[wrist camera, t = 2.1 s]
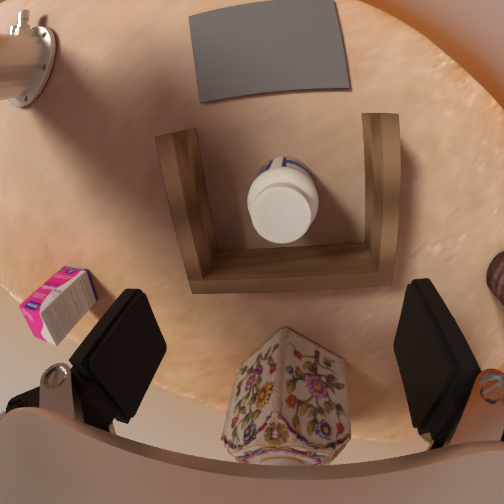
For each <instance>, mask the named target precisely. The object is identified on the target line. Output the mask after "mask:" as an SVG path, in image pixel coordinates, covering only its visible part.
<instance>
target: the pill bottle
mask: <svg viewBox="0 0 504 504" xmlns="http://www.w3.org/2000/svg"><path fill="white" fill-rule="evenodd" d="M318 204H319V201H318V193H317V190H316V187H315V184H314V181H313V178H312V176H311V173H310V171H309V170H308V168H307V167H306V166H305V165H304V164H303V163H302V162H301V161H299V160H297V159H295V158H292V157H288V156H282V157H277V158H274V159H272V160H270V161H268V162H267V163H266V164H265V165H264V166H263V167H262V168H261V170H260V171H259V173H258V175H257V176H256V178H255V180H254V181H253V183H252V185H251V187H250V190H249V193H248V198H247V205H248V211H249V214H250V216H251V219H252V223H253V226H254V228H255V229H256V231H257V232H258V233H259V234H260V235H261V236H262V237H263V238H265V239H266V240H268V241H271V242H274V243H282V244H283V243H290V242H293V241H295V240H297V239H299V238H300V237H302V236H303V235H304V234H305V232H306V231H307V230H308V228H309V226H310V224H311V223H312V222H313V220H314V219H315V217H316V214H317V211H318Z"/></svg>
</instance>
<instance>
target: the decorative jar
mask: <svg viewBox="0 0 504 504" xmlns="http://www.w3.org/2000/svg"><path fill="white" fill-rule="evenodd" d="M350 439H351V424H350V408H349V395H348V385H347V377H346V370H345V364H344V359H343V358H341V357H338V356H337V355H335V354H333V353H331V352H330V351H328V350H326V349H324V348H322V347H320V346H319V345H317V344H315V343H313V342H312V341H310V340H308V339H306V338H305V337H303V336H301V335H299V334H297V333H295V332H293V331H292V330H290V329H288V328H286V327H283V328H281V329H280V330H279V331H278V332H277V333H276V334H275V335H274V336H273V337H272V338H270V339H269V340H268V341H267V342H266V343H265V344H264V345H263V346H261V347H260V348H259V349H258V350H257V351H256V352H254V353H253V354H252V355H251V356H250V357H249V358H248V359H247V360H245V361H244V362H243V363H242V364H241V365H240V366H239V367H238V369H237V372H236V376H235V380H234V384H233V388H232V392H231V397H230V401H229V405H228V410H227V414H226V420H225V424H224V429H223V433H222V437H221V441H222V442H223V444H224V446H225V447H226V448H227V450H228V452H229V453H230V454H231V455H232V456H233V457H234V458H235V459H236V461H238V462H239V463H247V464H259V465H277V466H322V465H329V464H330V463H331V462H332V461H333V460H334V458H336V457H337V455H338V454H339V453H340V452H341V451H342V449H344V447H345V446H346V444H347V443H348V442H349V440H350Z"/></svg>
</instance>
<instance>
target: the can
mask: <svg viewBox="0 0 504 504" xmlns="http://www.w3.org/2000/svg"><path fill="white" fill-rule="evenodd" d="M487 283H488V286H489V288H490V289H491V290H492V291H493V292H494V294H495V295H496V296H497V298H498V299H499V300H500V301H501V303H502V304H503V305H504V252H501V253H499V254H498V255H497V256H496V257H495V258H494V259H493V260H492V262H491V263H490V266H489V268H488V271H487Z"/></svg>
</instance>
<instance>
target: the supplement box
mask: <svg viewBox="0 0 504 504" xmlns="http://www.w3.org/2000/svg"><path fill="white" fill-rule="evenodd" d="M96 301H98V297H97V294H96V292H95V289H94V286H93V283H92V280H91V277H90V273H89V271H88V270H87V269H77V268H70V267H65V266H64V267H63V268H62V269H61V270H59V271H58V272H57V273H56V274H55V275H53V276H52V277H51V278H50V279H49V280H47V281H46V282H45V283H44V284H43V285H42V286H40V287H39V288H38V289H37V290H36V291H35V292H34V293H33V294H31V295H30V296H29V297H28V298H27V299H26V300H25V301H24V302H23V303H21V304H20V309H21V311H22V313H23V315H24V317H25V319H26V321H27V323H28V325H29V327H30V329H31V331H32V333H33V335H34V336H35V337H37V338H39V339H42V340H44V341H46V342H49V343H51V344H53V345H55V346H58V345H59V343H60V342H61V341H62V340H63V339H64V337H65V336H66V335H67V334H68V333H69V332H70V330H71V329H72V328H73V327H74V326H75V325H76V324H77V322H78V321H79V320H80V319H81V318H82V317H83V316H84V315H85V313H86V312H87V311H88V310H89V309H90V308H91V307H92V306H93V305H94V304H95V303H96Z"/></svg>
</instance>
